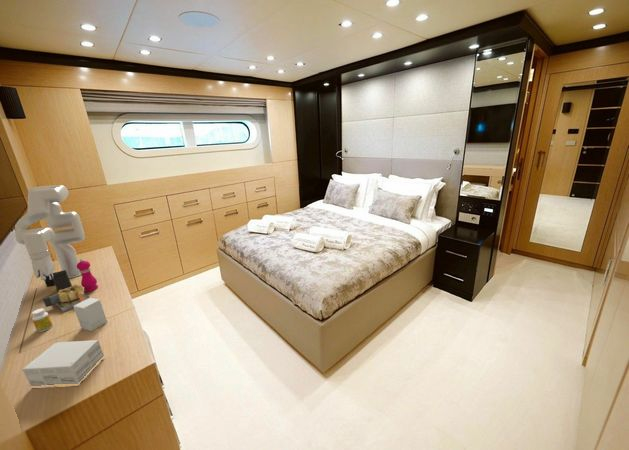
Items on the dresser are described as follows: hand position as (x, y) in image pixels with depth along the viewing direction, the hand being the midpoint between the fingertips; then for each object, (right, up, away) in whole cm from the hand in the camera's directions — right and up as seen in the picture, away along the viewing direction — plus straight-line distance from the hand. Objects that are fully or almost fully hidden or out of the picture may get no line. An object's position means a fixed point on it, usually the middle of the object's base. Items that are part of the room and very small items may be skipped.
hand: (51, 285), depth 142 cm
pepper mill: (+8, -6, +16) cm, 19 cm away
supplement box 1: (+51, -23, -43) cm, 70 cm away
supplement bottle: (+15, -16, -18) cm, 28 cm away
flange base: (+9, -10, +3) cm, 13 cm away
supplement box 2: (+38, -15, -17) cm, 44 cm away
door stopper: (-8, -6, +16) cm, 19 cm away
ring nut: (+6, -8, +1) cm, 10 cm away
